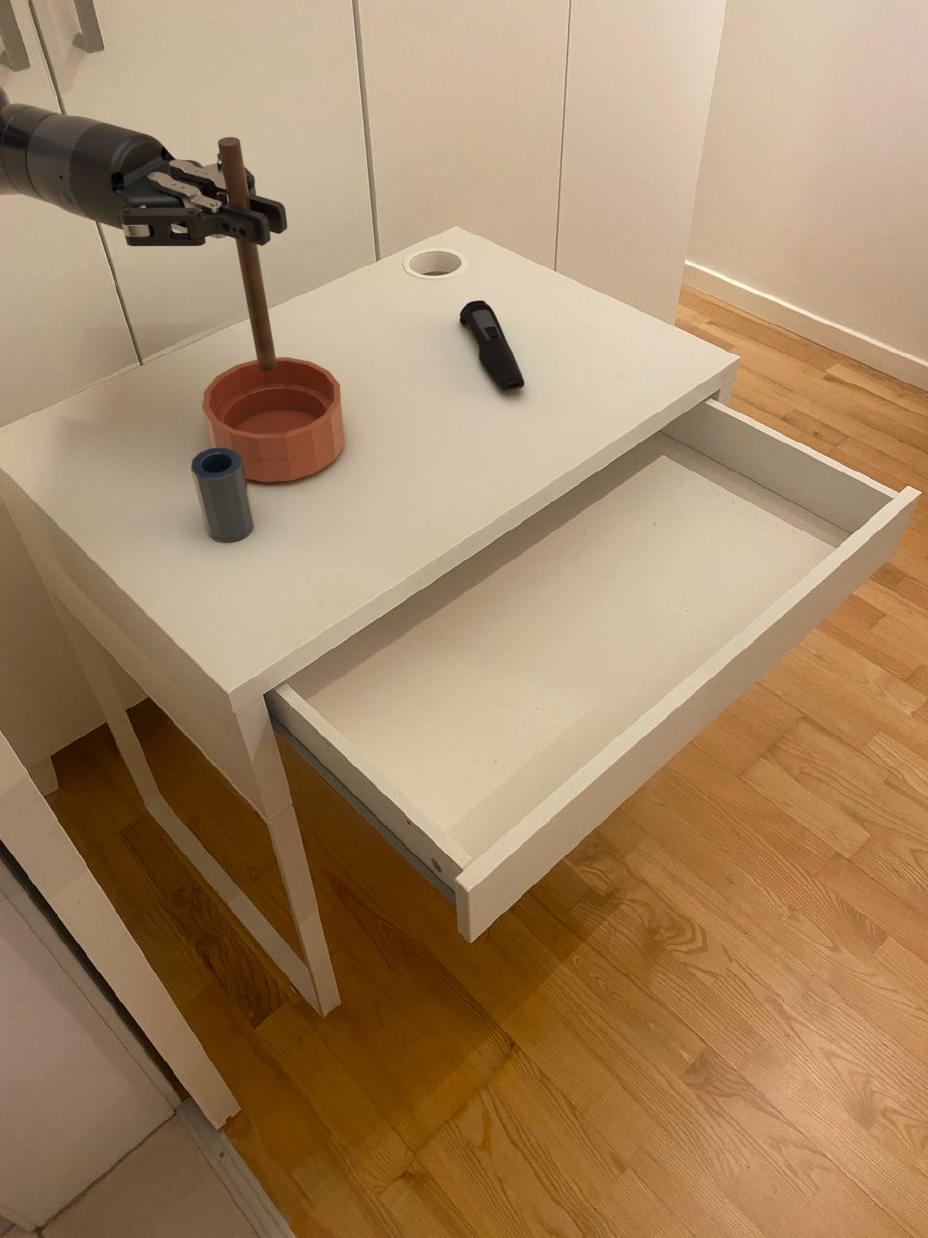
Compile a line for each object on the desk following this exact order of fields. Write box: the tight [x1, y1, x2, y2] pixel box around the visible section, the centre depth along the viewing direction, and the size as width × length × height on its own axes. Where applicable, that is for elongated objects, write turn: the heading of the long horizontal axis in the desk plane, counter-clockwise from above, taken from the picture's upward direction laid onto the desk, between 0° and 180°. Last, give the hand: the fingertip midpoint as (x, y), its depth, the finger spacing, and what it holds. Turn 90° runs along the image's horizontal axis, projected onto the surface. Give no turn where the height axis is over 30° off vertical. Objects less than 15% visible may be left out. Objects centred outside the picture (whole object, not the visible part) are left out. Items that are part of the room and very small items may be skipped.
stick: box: [217, 136, 277, 372], centre depth 77 cm, size 2×2×19 cm
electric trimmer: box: [459, 299, 525, 391], centre depth 99 cm, size 4×16×3 cm, turn 15°
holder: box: [190, 447, 255, 543], centre depth 80 cm, size 4×4×7 cm
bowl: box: [201, 356, 346, 483], centre depth 88 cm, size 12×12×6 cm
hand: (274, 224), depth 73 cm, fingers closed on stick, 1 cm apart
